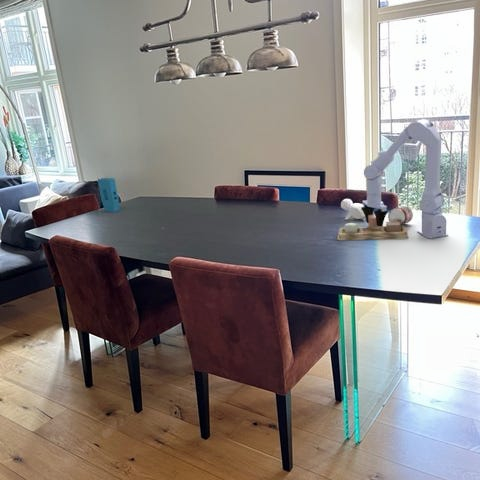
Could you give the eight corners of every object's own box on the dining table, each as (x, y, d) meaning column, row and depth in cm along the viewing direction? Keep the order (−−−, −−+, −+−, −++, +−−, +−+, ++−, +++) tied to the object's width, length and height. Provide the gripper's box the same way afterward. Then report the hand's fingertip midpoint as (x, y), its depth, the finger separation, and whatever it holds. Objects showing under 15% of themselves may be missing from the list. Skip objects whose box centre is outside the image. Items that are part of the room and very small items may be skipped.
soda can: (398, 225, 202) (390, 227, 192) (393, 209, 202) (385, 210, 192) (415, 220, 198) (408, 223, 188) (410, 204, 198) (403, 205, 188)
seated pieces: (399, 230, 189) (399, 221, 188) (400, 234, 185) (400, 224, 183) (345, 232, 195) (344, 223, 194) (344, 236, 190) (344, 226, 189)
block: (103, 211, 294) (96, 179, 289) (109, 209, 298) (103, 178, 292) (114, 212, 287) (108, 180, 281) (121, 210, 291) (115, 178, 285)
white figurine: (370, 223, 216) (345, 208, 225) (376, 207, 212) (350, 193, 220) (360, 228, 211) (334, 213, 220) (365, 212, 207) (339, 197, 215)
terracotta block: (380, 225, 201) (380, 214, 200) (381, 229, 196) (380, 217, 195) (368, 226, 202) (368, 215, 201) (368, 229, 198) (368, 218, 196)
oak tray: (406, 230, 191) (406, 225, 190) (408, 238, 182) (408, 232, 181) (338, 232, 198) (338, 227, 197) (337, 240, 189) (337, 234, 188)
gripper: (392, 194, 190) (393, 226, 194) (371, 189, 203) (372, 219, 207) (378, 197, 188) (378, 229, 192) (357, 191, 201) (358, 222, 205)
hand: (374, 224), depth 199 cm, fingers closed on terracotta block, 7 cm apart
